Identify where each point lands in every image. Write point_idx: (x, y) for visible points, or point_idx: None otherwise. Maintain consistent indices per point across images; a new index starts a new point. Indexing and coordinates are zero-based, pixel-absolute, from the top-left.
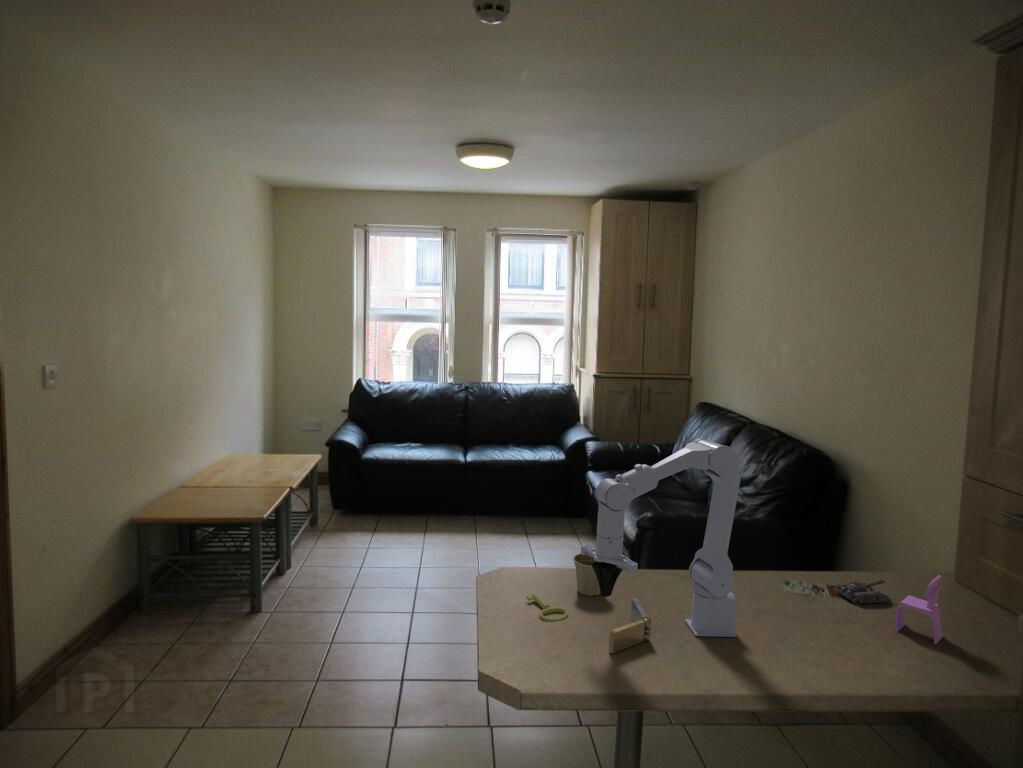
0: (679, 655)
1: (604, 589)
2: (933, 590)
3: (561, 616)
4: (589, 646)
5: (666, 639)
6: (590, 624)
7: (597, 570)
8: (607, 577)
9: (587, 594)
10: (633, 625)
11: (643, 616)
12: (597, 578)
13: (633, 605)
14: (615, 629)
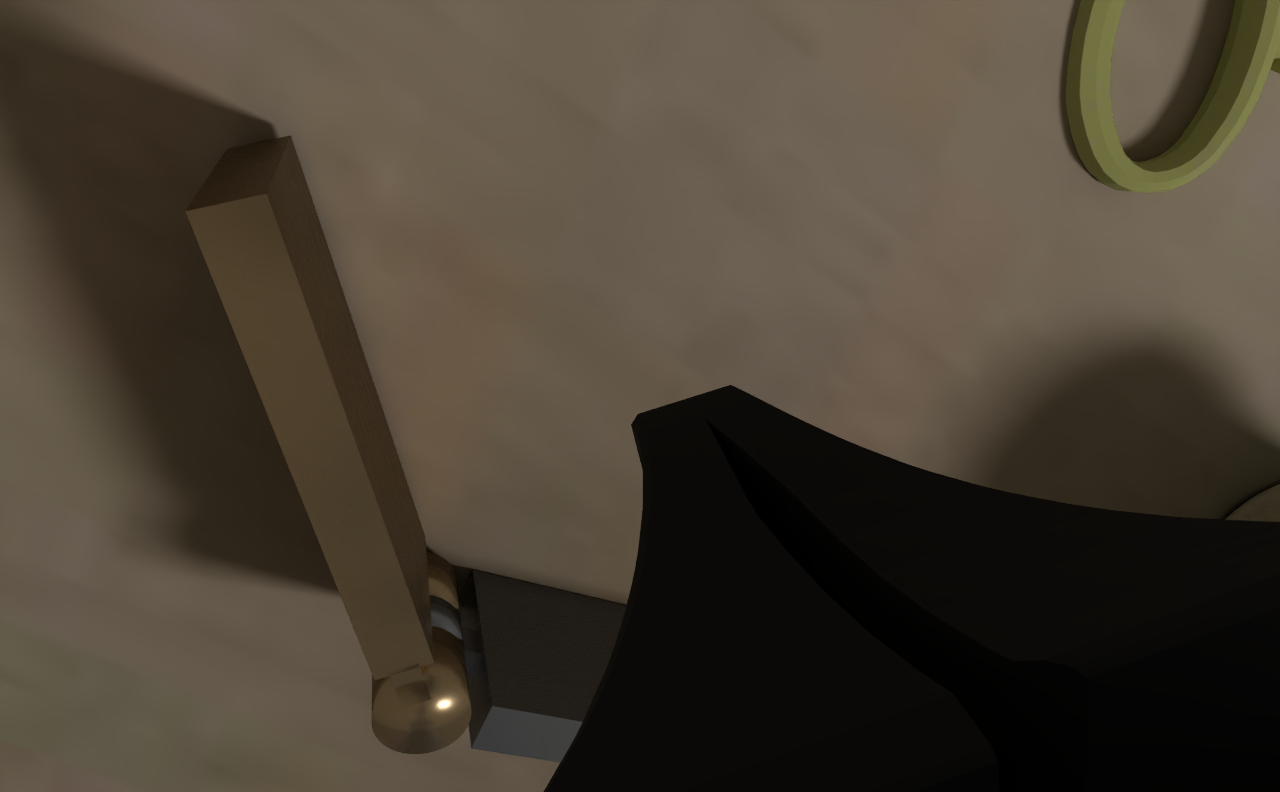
0: (74, 706)
1: (669, 462)
2: None
3: (1104, 85)
4: (484, 7)
5: None
6: (859, 283)
7: (1039, 583)
8: (616, 673)
9: (1238, 516)
10: (328, 537)
11: (494, 716)
12: (933, 476)
13: None
14: (287, 284)
